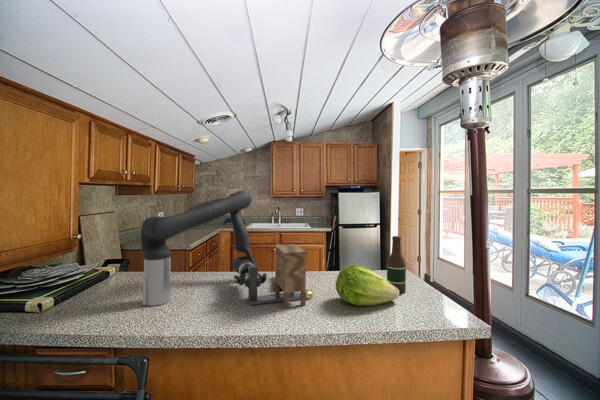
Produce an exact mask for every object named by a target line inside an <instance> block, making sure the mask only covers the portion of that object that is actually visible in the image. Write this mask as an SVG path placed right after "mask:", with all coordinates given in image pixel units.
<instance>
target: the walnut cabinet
mask: <svg viewBox="0 0 600 400" xmlns="http://www.w3.org/2000/svg"><path fill="white" fill-rule="evenodd" d="M273 248H274V249H275V285H276V287H275V289H274V290H275V292H274V294H275V295H281V293H280V292H281V291H280V287H281V288H282V290H283V291H282V292H283V294H284V301H283V307H284V309H289V308H290V300H289V294H290V293H300V294H301V299H300V305H301V307H303V306H304V307H305V306H306V289H307V287H306V282H307V281H306V278H307V277H306V275H307V273H306V271H307V270H306V269H307V268H306V267H307V266H306V265H307V264H306V263H307V260H306V259H307V258H306V257H307V256H306V255H308V250H305V249H304V248H303V247H300V246H298V245H296V244H290V243H289V244H275V245H274V246H273Z"/></svg>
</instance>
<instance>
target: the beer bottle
mask: <svg viewBox="0 0 600 400" xmlns="http://www.w3.org/2000/svg"><path fill="white" fill-rule="evenodd" d="M391 239H392V243H391V244H392V245H391V253H390V256H388V258H387V261H386V280H387V281H388V282H389V283H391V284H392V285H393V286H395V287H396V288H397V289H398V290H399V295H403V294H405V293H406V291H407V290H406V289H407V281H406V280H407V279H406V278H407V276H406V275H407V266H406V265H407V263H406V260H405V258H404V257H403V255H402V249H401V248H402V246H401V245H402V243H401V240H402V237H401V236H399V235H394V236H392V237H391Z"/></svg>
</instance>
